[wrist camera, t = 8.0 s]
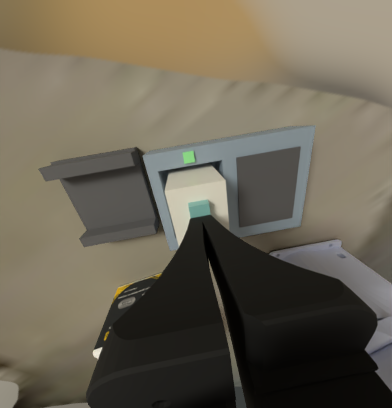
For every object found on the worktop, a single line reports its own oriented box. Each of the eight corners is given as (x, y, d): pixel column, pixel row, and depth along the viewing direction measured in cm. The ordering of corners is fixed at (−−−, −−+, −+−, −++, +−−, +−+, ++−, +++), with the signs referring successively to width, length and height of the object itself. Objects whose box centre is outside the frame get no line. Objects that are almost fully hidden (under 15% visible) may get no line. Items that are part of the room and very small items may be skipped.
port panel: (290, 126, 15) (317, 125, 12) (282, 212, 18) (301, 227, 16) (149, 151, 14) (141, 156, 11) (171, 232, 18) (169, 252, 15)
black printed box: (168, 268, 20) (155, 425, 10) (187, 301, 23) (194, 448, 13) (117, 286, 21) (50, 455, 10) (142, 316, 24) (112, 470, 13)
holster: (136, 147, 14) (129, 149, 12) (159, 223, 18) (156, 235, 16) (57, 161, 14) (36, 166, 12) (95, 235, 17) (84, 248, 15)
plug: (208, 161, 15) (228, 183, 9) (214, 209, 17) (233, 252, 11) (169, 168, 15) (163, 194, 9) (180, 215, 17) (181, 262, 11)
